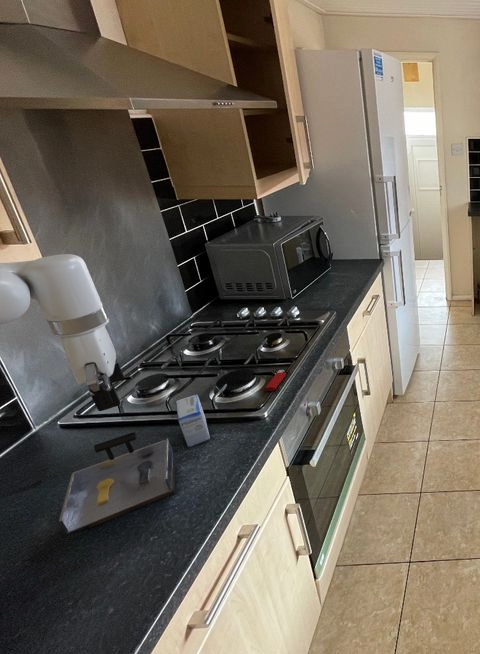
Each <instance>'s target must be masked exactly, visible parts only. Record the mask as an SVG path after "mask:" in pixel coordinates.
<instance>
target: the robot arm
mask: <svg viewBox="0 0 480 654" xmlns="http://www.w3.org/2000/svg"><path fill="white" fill-rule="evenodd" d="M31 300H36V302H37V303H38V306H39V307H40V310H41V312H42V314H43V316H44V318H45V320H46V322H47V324H48V326H49V328H50V331H51V332H52V334H53V336H54V337H56V338H60V339H61V343H62V347H63V351H64V354H65V356H66V360H67V362H68V364H69V367H70V369H71V372H72V374H73V377H74V379H75V381H76V383H77V384H78V385H80V386H83V385H84V384H86V386H87V388H88V392H89V395H90V396H91V399H92V401H93V403H94V405H95V407H96V409H97V411H98V412H103V411H107V410H109V409H112V408H115V407H119V406H120V405H121V400H120V398H119V396H118V393H117V392H116V388H115V386H113V387H112V384H115V383H118V382H122V381H124V380H125V375H124V373H123V370H122V368H121V366H120V363H119V362H118V360H117V352H116V349H115V346H114V344H113V342H112V339H111V336H110V335H109V332H108V331H107V328H106V326H107V325H108V323H109V322H110V319H109V317H108V314H107V311H106V309H105V307H104V304H103V302H102V300H101V297H100V295H99V292H98V290H97V288H96V285H95V282H94V280H93V279H92V276H91V273H90V271H89V268H88V266H87V263H86V262H85V260H84V259H83V258H82V257H81V256H79V255H76V254H72V253H65V254H64V253H62V254H53V255H47V256H44V257H40V258H36V259H34V260H23V261H12V262H0V325H4V324H8V323H10V322H13V321H15V320H17V319H19V318H20V317H22V316H23V315H24V314H25V313H26V312H27V311H28V309H29V308H30V306H31ZM100 381H102V383H100Z"/></svg>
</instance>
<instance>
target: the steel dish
mask: <svg viewBox="0 0 480 654" xmlns="http://www.w3.org/2000/svg"><path fill="white" fill-rule="evenodd" d="M137 437H138V436H137V433H136V431H131V432H128V433H126V434H123V435H120V436H117V437H114V438H111V439H108V440H105V441H101V442H100V443H96V444H94V445H93V450H94V452H95V453H96V454H97V453H100V452H103V451H105V452H106V455H107V457H108V459H107V460H104V461H101V462H99V463H95V464H92V465H90V466H87V467H84V468H81V469H78V470H76V471H72V472H71V475H70V479H69V482H68V485H67V486H68V487H67V491H66V494H65V497H64V500H63V505H62V509H61V512H60V515H59V519H58V523H59V524H60V526H61V527H62V529H63V530H64V532H65V534H66V535H70V534H71V533H72V534H73V533H74V532H77V531H78V530H82V529H84V528H86V527H88V526H89V525H91V524H93V523H96V522H98V521H101V520H103V519H106V518H108V517H110V516H113V515H115V514H118V513H120V512H123V511H125V510H127V509H130V508H132V507H135V506H137V505H140V504H142V503H144V502H147V501H149V500H152V499H154V498H157V497H159V496H161V495H164V494H166V493H169V492H171V491H172V482H173V467H174V450H173V447H172V445H171V442H170V440H169V438H166V439H163V440H161V441H158V442H155V443H152V444H149V445H146V446H144V447H141V448H138V449H135V450H134V447H133V446H132V443H131V442H132V441H136V440H137ZM124 444H125V446H126V449H127V450H128V452H127V453H124V454H121V455H118V456H114V453H113V452H112V448H115V447H118V446H121V445H124ZM145 461H152V463H153V465H152V467H151V468H150V469H149V481H148V482H146V483H143V484H140V485H139V476H140V472H139V471H138V469H137V467H138V466H139V465H140V464H141V463H143V462H145ZM108 478H112V479H113V480H114V483H113V484H112V485H111V486H110V489H109V495H108V501H106V502H104V503H101V504H99V505H98V504H97V499H98V494H99V490H98V489H97V485H98V484H99V483H100V482H101V481H103V480H105V479H108Z"/></svg>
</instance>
